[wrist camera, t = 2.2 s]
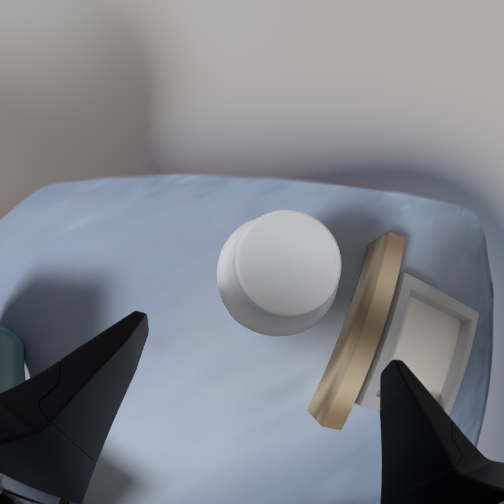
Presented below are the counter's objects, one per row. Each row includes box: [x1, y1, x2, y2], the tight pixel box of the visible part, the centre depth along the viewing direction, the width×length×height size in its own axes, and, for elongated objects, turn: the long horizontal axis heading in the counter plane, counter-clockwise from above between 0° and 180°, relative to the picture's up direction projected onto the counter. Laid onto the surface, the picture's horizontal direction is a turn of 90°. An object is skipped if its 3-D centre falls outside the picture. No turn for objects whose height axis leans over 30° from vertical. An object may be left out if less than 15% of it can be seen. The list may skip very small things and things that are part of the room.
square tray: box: [354, 272, 479, 416], centre depth 18 cm, size 10×10×2 cm
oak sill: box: [307, 231, 406, 430], centre depth 17 cm, size 14×2×4 cm, turn 157°
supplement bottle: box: [217, 210, 342, 336], centre depth 14 cm, size 6×6×10 cm
